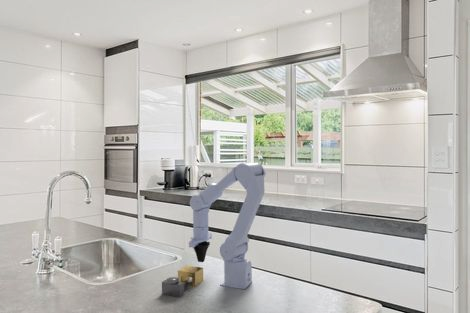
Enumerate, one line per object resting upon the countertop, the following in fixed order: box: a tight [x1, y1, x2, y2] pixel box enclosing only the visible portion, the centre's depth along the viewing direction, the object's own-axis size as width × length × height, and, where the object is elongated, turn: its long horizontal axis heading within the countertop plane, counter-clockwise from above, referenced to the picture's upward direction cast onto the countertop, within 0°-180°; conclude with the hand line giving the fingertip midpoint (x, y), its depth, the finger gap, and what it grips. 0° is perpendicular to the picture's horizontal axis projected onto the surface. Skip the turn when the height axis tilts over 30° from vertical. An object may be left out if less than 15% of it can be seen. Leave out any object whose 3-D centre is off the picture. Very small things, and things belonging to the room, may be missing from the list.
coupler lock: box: [177, 265, 204, 287], centre depth 132 cm, size 7×6×5 cm
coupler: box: [161, 276, 188, 298], centre depth 124 cm, size 7×9×5 cm
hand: (201, 261), depth 139 cm, fingers closed
